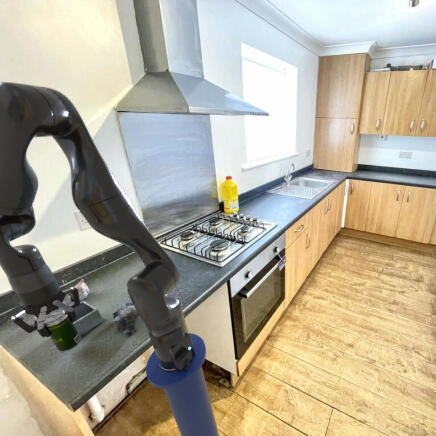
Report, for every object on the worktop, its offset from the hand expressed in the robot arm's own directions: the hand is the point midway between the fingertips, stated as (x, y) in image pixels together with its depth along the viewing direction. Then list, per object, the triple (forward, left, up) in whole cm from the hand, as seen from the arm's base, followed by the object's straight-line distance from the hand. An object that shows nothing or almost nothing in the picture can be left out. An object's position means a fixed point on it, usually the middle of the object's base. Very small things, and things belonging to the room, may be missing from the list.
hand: (60, 327), depth 69 cm
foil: (-4, -16, -11) cm, 20 cm away
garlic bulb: (+25, -13, -11) cm, 30 cm away
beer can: (0, 0, -8) cm, 8 cm away
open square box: (+9, -6, -10) cm, 15 cm away
